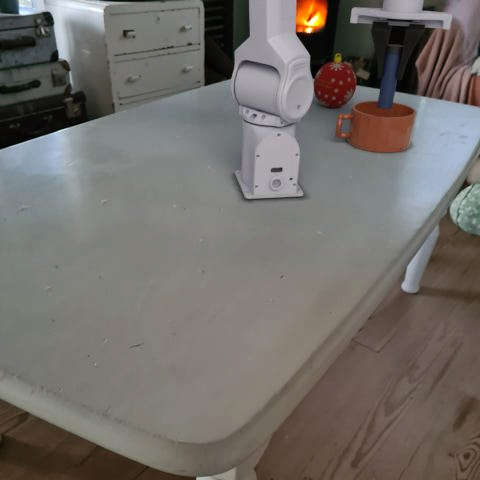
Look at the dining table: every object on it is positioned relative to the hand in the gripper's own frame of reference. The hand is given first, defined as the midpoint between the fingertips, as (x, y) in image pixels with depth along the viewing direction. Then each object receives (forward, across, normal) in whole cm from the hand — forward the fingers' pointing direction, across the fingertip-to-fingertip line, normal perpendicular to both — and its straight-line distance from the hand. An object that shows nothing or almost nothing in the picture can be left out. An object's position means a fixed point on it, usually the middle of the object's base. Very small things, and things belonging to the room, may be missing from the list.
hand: (389, 78), depth 82 cm
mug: (+10, +1, -1) cm, 11 cm away
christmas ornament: (+11, +13, -21) cm, 26 cm away
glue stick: (+4, 0, 0) cm, 4 cm away
